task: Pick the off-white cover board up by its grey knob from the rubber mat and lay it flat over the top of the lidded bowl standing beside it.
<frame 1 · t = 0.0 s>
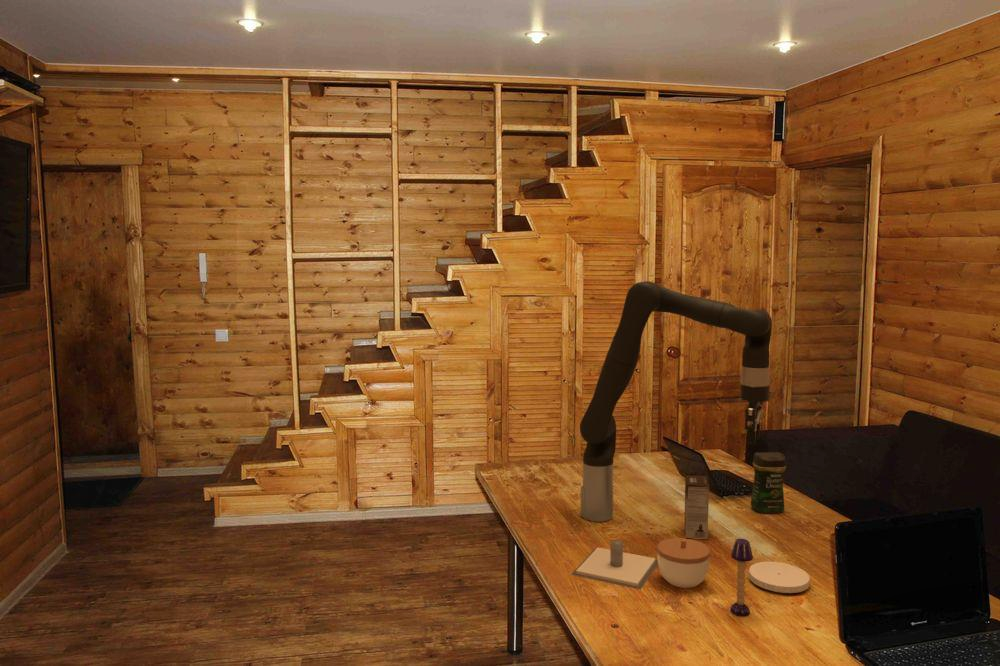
hand: (753, 440, 197), 29 cm above the table, tool pointing down, fingers open, 8 cm apart
toy lamp: (740, 612, 163), on the table
coffee box: (695, 534, 207), on the table
cover board: (616, 567, 184), point 1 cm above the table, touching rubber mat
plastic lid: (778, 584, 177), on the table
coffee jar: (767, 510, 226), on the table
rubber mat: (616, 569, 184), on the table
lidded bowl: (682, 584, 177), on the table
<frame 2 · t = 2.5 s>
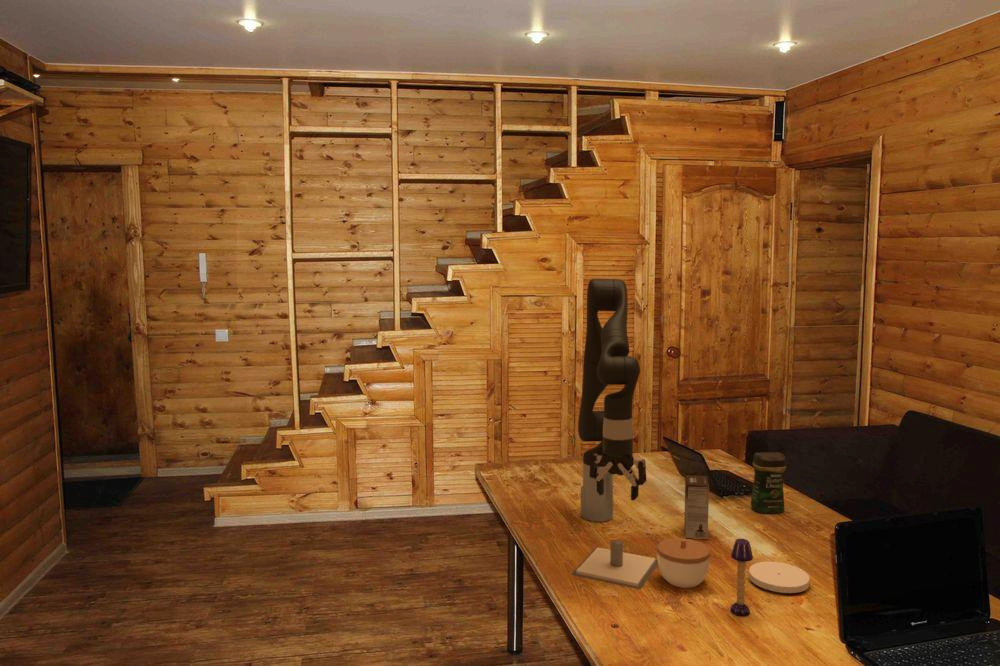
hand: (617, 497, 182), 19 cm above the table, tool pointing down, fingers open, 8 cm apart
nothing on the table moved.
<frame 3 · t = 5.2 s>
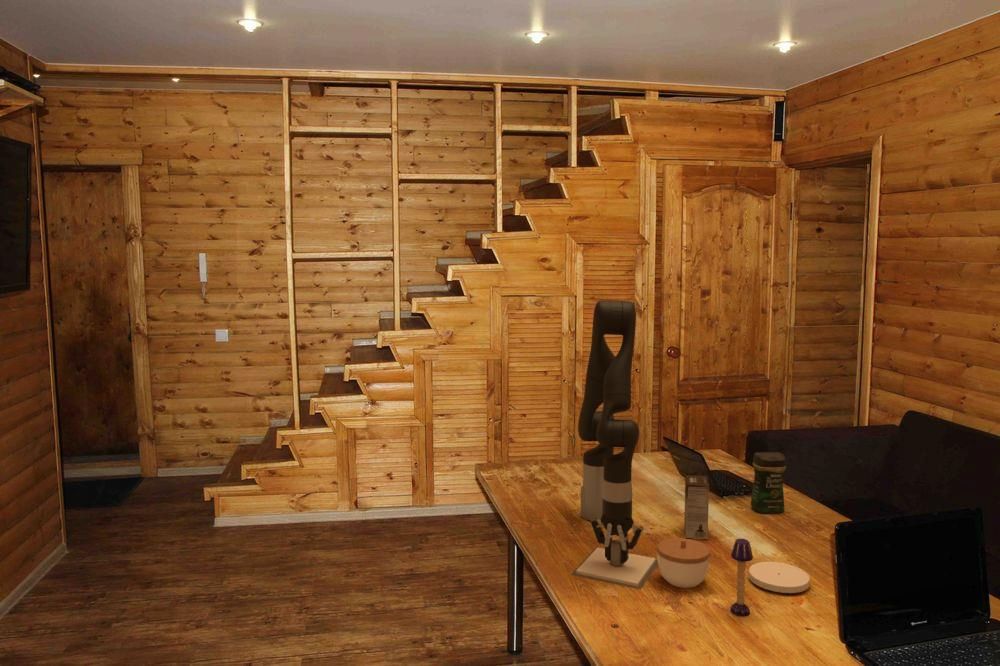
hand: (616, 560, 184), 2 cm above the table, tool pointing down, fingers closed on cover board, 3 cm apart
cover board: (616, 567, 184), point 1 cm above the table, touching gripper, rubber mat
everything else where it was.
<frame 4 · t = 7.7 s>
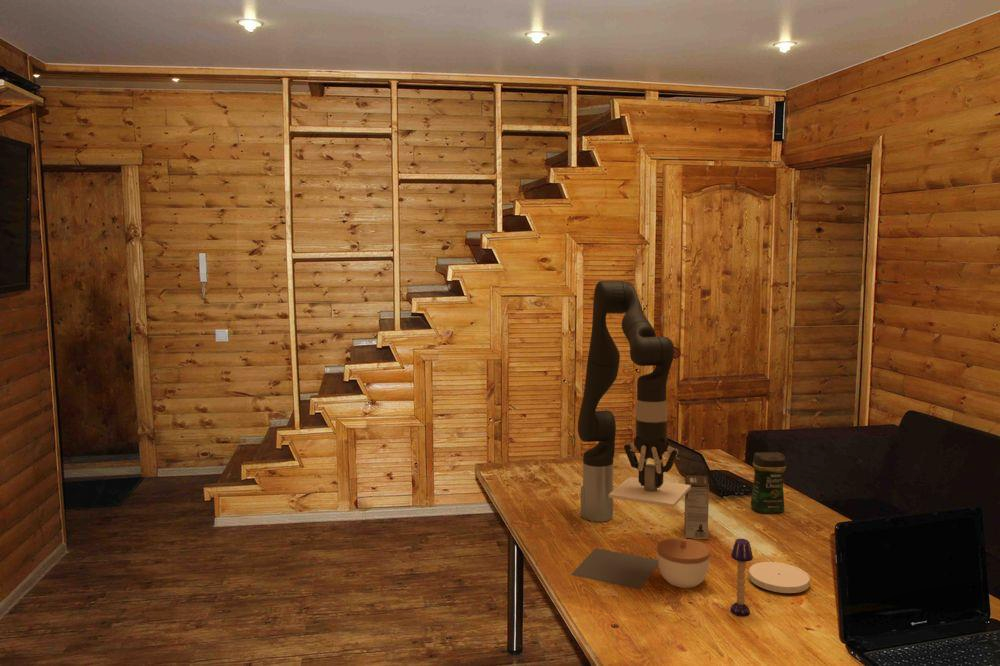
hand: (650, 485, 177), 24 cm above the table, tool pointing down, fingers closed on cover board, 3 cm apart
cover board: (650, 492, 177), point 22 cm above the table, touching gripper
everything else where it was.
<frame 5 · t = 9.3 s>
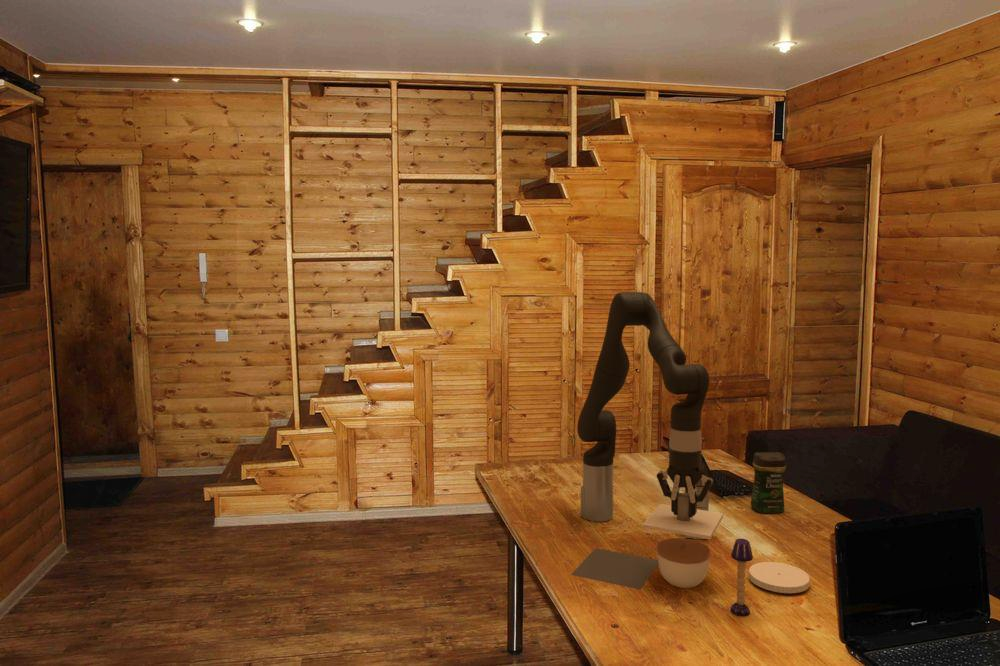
hand: (683, 514, 175), 17 cm above the table, tool pointing down, fingers closed on cover board, 3 cm apart
cover board: (683, 521, 175), point 16 cm above the table, touching gripper
everything else where it was.
when the fingers open (14 cm above the table, at t = 10.6 s): cover board drops 2 cm, resting on lidded bowl.
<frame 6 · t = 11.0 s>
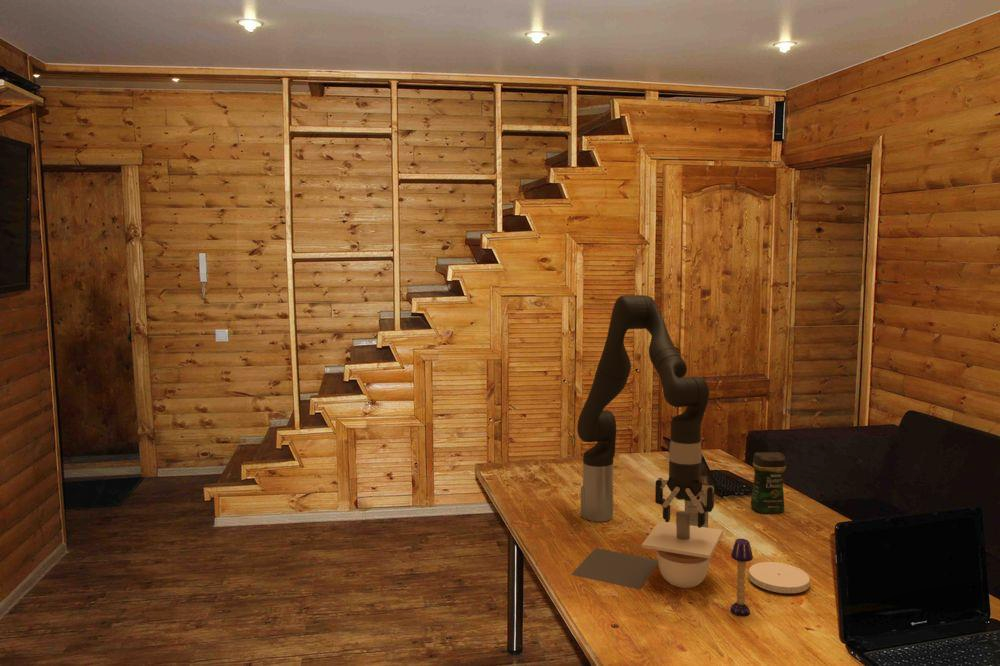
hand: (683, 523, 175), 15 cm above the table, tool pointing down, fingers open, 7 cm apart
cover board: (683, 540, 175), point 11 cm above the table, touching lidded bowl
lidded bowl: (682, 584, 177), on the table, touching cover board
everything else where it was.
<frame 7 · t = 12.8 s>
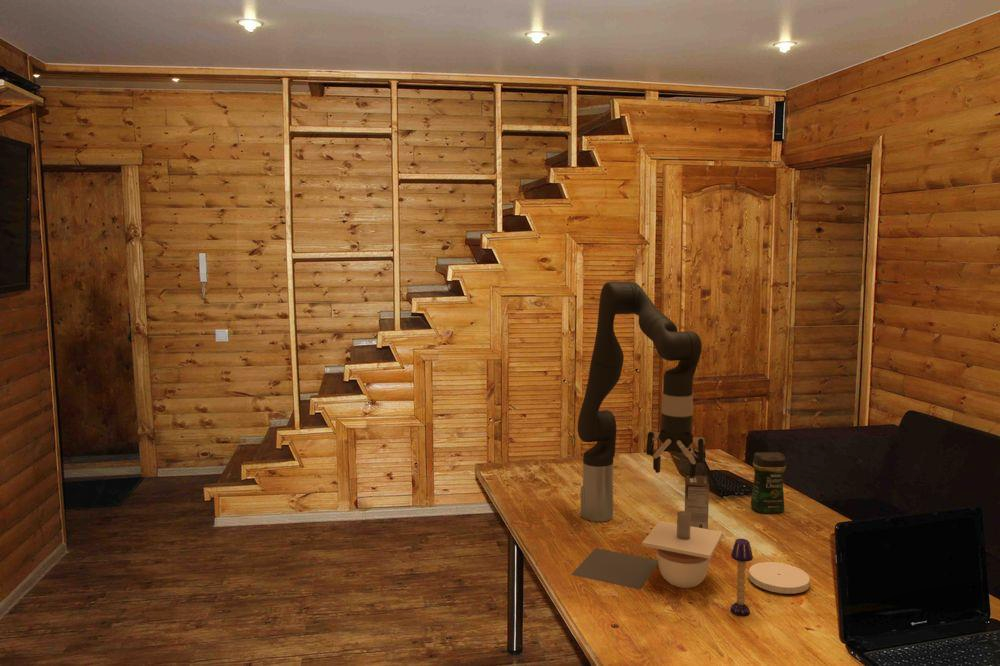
hand: (674, 474, 179), 26 cm above the table, tool pointing down, fingers open, 8 cm apart
nothing on the table moved.
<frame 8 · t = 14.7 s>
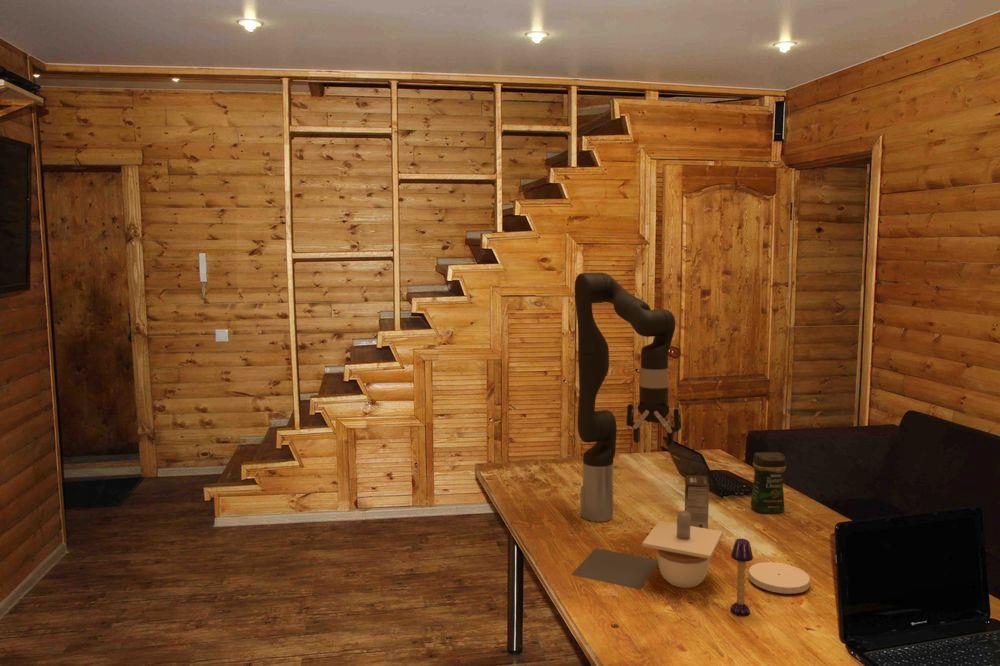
hand: (653, 444, 192), 30 cm above the table, tool pointing down, fingers open, 8 cm apart
nothing on the table moved.
at the end: cover board 0.1 cm from the lidded bowl (horizontally); cover board point 11.0 cm above the table; cover board tilted 0° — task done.
